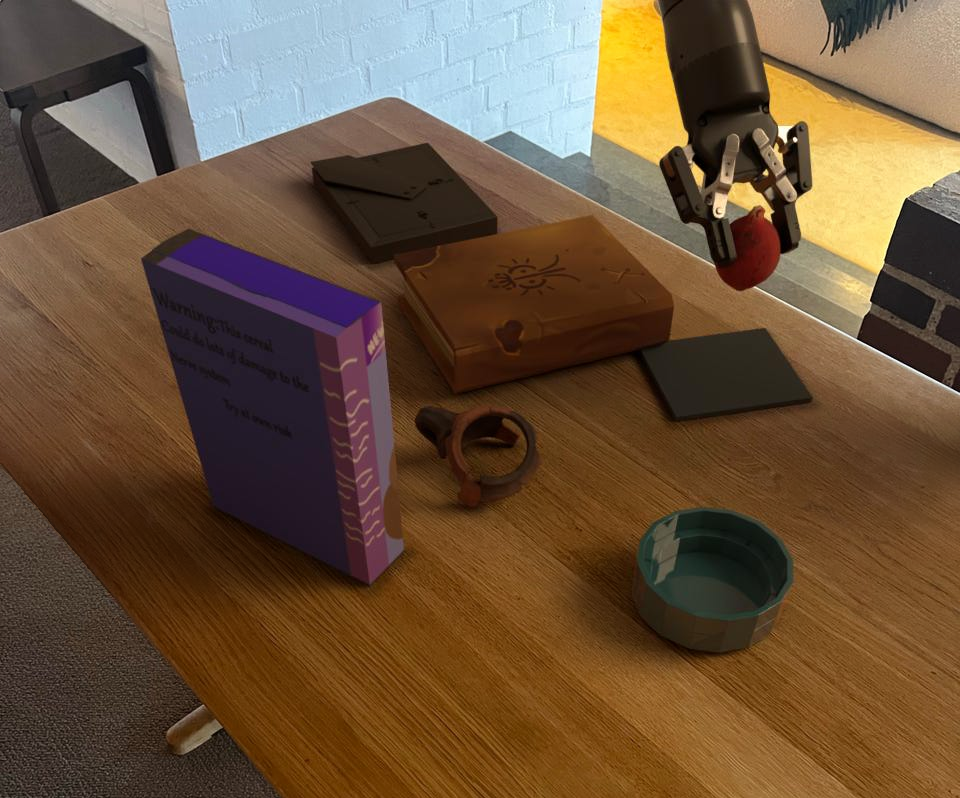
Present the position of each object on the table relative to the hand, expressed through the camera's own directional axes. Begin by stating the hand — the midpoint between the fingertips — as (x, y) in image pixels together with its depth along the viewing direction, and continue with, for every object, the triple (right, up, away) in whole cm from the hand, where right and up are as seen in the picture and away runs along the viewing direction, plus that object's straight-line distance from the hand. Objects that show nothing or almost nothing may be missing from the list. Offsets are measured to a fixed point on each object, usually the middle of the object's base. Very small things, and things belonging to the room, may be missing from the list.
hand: (759, 257), depth 88 cm
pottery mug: (-25, -19, +3) cm, 31 cm away
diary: (-20, -1, +17) cm, 26 cm away
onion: (-1, -2, +4) cm, 5 cm away
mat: (-1, -7, +12) cm, 14 cm away
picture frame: (-34, +19, +33) cm, 51 cm away
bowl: (-6, -31, -7) cm, 32 cm away
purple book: (-40, -24, -2) cm, 47 cm away
